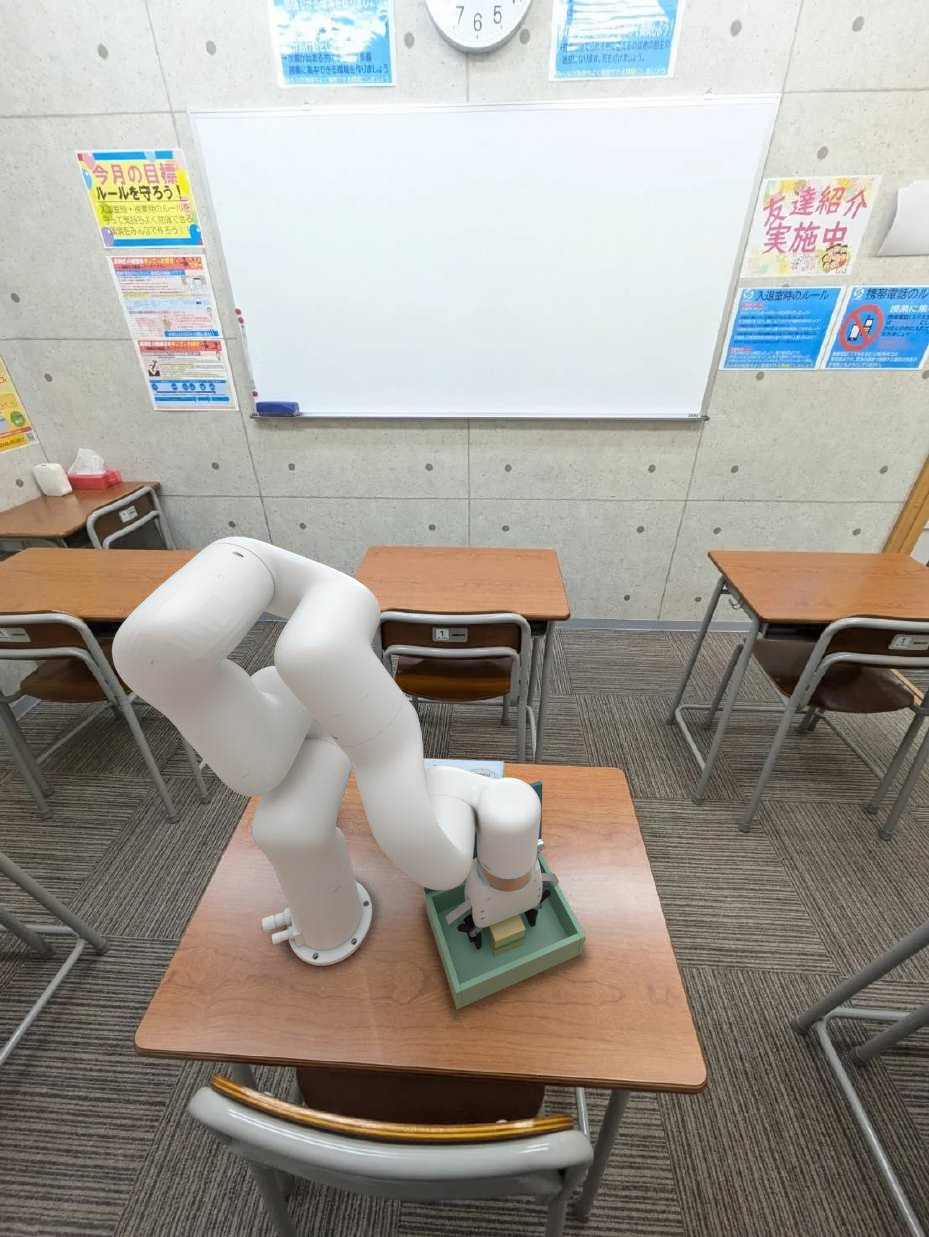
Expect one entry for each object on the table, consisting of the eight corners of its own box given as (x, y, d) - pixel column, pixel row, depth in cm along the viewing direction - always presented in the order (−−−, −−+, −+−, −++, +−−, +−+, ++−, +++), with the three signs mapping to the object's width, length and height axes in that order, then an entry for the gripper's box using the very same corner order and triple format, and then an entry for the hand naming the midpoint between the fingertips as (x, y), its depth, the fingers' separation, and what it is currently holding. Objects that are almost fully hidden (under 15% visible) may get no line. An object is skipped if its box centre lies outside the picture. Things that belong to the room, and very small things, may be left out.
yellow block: (494, 957, 74) (495, 941, 71) (480, 918, 78) (480, 902, 76) (524, 945, 75) (525, 929, 72) (507, 907, 79) (508, 891, 77)
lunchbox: (581, 956, 74) (586, 936, 71) (456, 1011, 69) (455, 993, 66) (537, 871, 85) (540, 850, 82) (426, 913, 80) (424, 893, 76)
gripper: (552, 814, 72) (543, 883, 81) (432, 856, 67) (438, 924, 76) (580, 861, 66) (567, 930, 75) (451, 911, 61) (455, 978, 70)
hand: (502, 927), depth 76 cm, fingers open, 8 cm apart
